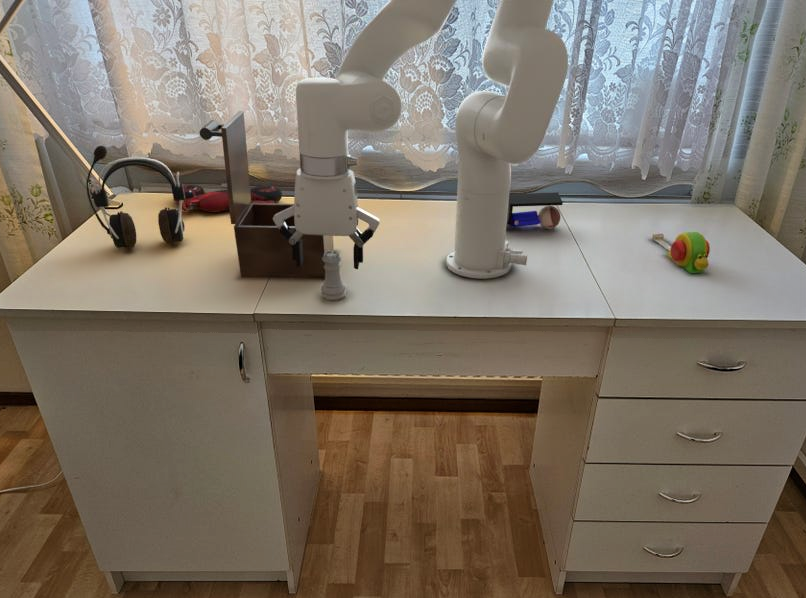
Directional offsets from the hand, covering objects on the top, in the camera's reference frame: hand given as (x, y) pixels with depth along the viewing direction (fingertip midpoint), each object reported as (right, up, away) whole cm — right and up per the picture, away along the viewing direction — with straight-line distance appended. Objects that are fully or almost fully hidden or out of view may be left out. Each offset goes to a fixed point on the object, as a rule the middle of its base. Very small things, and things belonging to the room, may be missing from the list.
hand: (328, 264), depth 112 cm
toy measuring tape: (+67, +4, +21) cm, 71 cm away
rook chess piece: (0, -5, +4) cm, 6 cm away
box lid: (-16, +18, +4) cm, 25 cm away
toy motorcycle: (-30, +19, +39) cm, 53 cm away
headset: (-39, +7, +20) cm, 44 cm away
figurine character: (+38, +13, +33) cm, 52 cm away
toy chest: (-10, +2, +14) cm, 17 cm away
